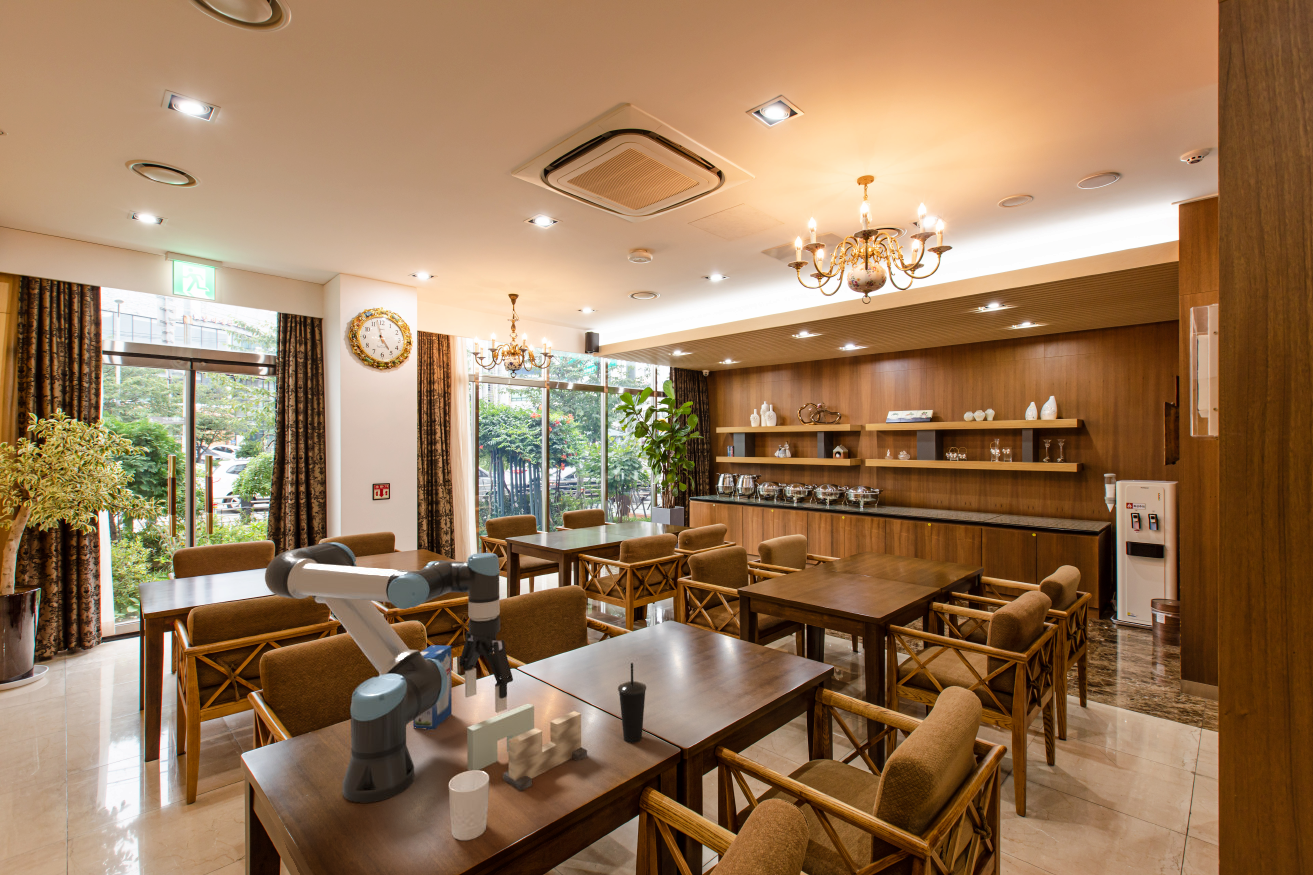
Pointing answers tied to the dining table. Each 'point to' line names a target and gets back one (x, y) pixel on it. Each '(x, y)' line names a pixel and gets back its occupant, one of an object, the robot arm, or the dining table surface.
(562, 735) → the maple board
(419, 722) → the milk carton
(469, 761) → the sage board
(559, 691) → the dining table surface
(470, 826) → the white cup
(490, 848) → the dining table surface
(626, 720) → the drinking cup
